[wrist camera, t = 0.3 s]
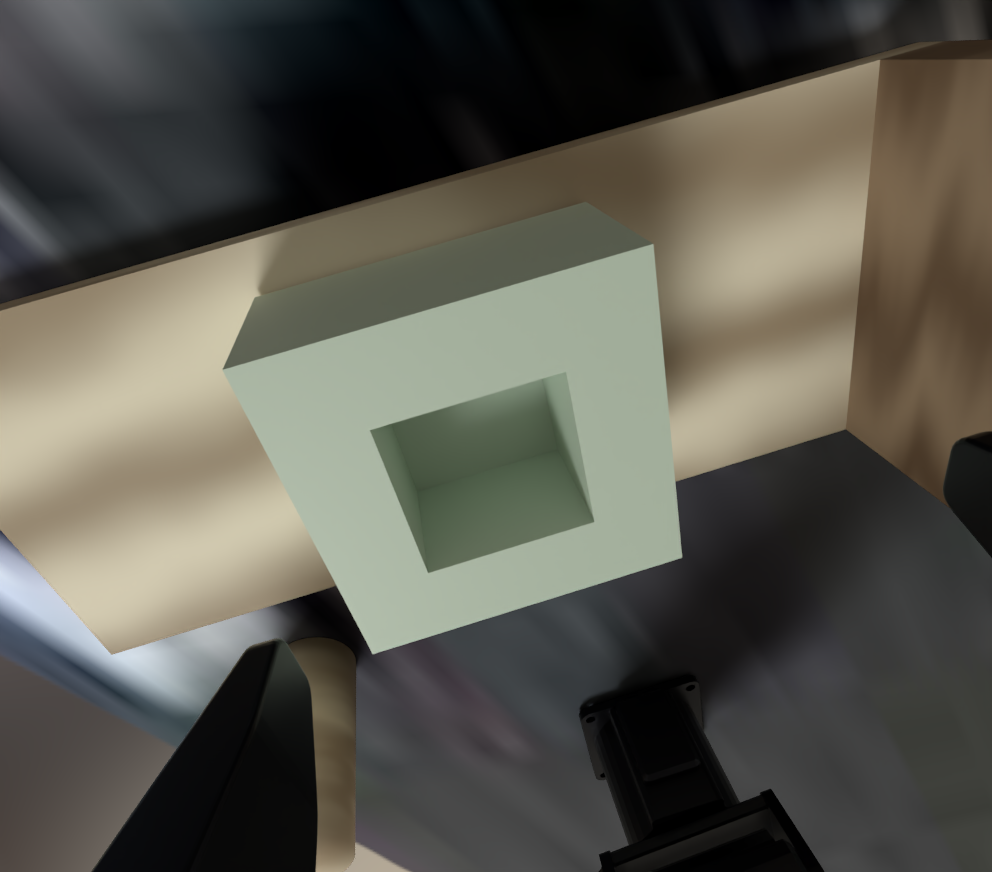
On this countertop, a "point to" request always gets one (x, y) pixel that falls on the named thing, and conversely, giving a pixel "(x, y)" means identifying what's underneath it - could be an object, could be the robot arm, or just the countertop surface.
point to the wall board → (500, 201)
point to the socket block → (471, 420)
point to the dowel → (332, 745)
